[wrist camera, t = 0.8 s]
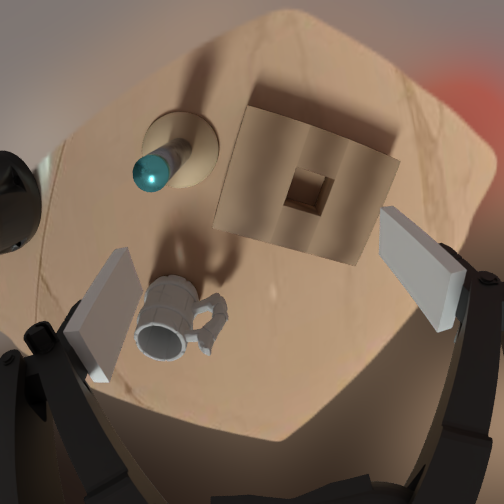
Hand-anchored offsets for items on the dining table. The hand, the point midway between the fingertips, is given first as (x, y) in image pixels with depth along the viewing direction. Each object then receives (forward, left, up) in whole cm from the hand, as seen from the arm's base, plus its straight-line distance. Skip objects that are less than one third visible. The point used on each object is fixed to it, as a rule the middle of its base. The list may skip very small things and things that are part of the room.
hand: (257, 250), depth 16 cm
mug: (-3, -20, -23) cm, 30 cm away
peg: (-8, -1, -22) cm, 23 cm away
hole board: (+7, -1, -22) cm, 23 cm away
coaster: (-8, -1, -22) cm, 24 cm away
